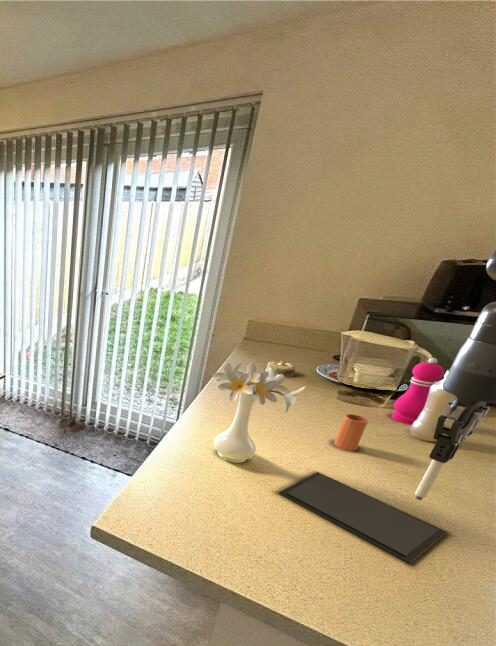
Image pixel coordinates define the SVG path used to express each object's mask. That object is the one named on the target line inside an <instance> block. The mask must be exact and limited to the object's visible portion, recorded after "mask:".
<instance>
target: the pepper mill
mask: <svg viewBox="0 0 496 646" xmlns="http://www.w3.org/2000/svg"><path fill="white" fill-rule="evenodd" d="M437 363H438V359H437V358H435V357H431V358H429V359H428V360H427V362H425V361H424V362H420V363H417V364H416V365H414V367H413V368H412V371H411V372H412V374H413V376H412V377H411V379H410V380H409V382H410V385H411V386H410V388H409V389H407V390H406V391H405V392H404V394H402V395H400V397H398V398H397V399H396V400H395V402H394V403H393V408H394V411H392V414H391V418H392V419H393V420H395V421H397V422H400V423H403V424H406V425H412V424H413V423H414V421H415V420H416V419H417V418H418V416H419V415H420V413H421V412H422V410H423V408H424V406H425V404H426V401H427V398H428V394H429V391H430V387H431V386H432V385H433V384H434V383H436V382H438V381H439V380H441V379H442V378H443V377H444V374H445V369H444V368H443V366H441V365H440V364H437Z"/></svg>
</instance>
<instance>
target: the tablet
mask: <svg viewBox="0 0 496 646" xmlns="http://www.w3.org/2000/svg"><path fill="white" fill-rule="evenodd" d="M278 495H280V496H282V497H284V498H285V499H287V500H288V501H290V502H293V503H295V504H297V505H298V506H300V507H301V508H303V509H306V510H307V511H309V512H311V513H314V514H315V515H317V516H318V517H320V518H322V519H324V520H326V521H328V522H329V523H331V524H332V525H335V526H337V527H339V528H341V529H342V530H344V531H346V532H349V533H351V535H353V536H355V537H357V538H359V539H361V540H363V541H364V542H367V543H368V544H370V545H372V546H374V547H376V548H378V549H380V550H382V551H383V552H385V553H387V554H389V555H391V556H393V557H394V558H396V559H398V560H400V561H402V562H404V563H406V564H407V565H411V564H412V563H413V562H414V561H415V560H417V559H418V558H419V557H420V556H422V554H424V553H425V552H426V551H427V550H429V549H430V548H431V547H432V546H433V545H435V544H436V543H437V542H438V541H440V540H441V538H443V537H444V536H445V535H446V534H447V533H448V531H446V530H444V529H442V528H440V527H438V526H436V525H433V524H431V523H429V522H427V521H425V520H422V519H420V518H418V517H416V516H415V515H412V514H409V513H408V512H405V511H404V510H401V509H399V508H396V507H395V506H393V505H391V504H389V503H386V502H384V501H381V500H380V499H378V498H375V497H373V496H371V495H368V494H366V493H364V492H362V491H360V490H357V489H356V488H353V487H351V486H349V485H347V484H345V483H343V482H340V481H338V480H336V479H334V478H332V477H329V476H327V475H325V474H323V473H321V472H318V471H317V472H315V473H313V474H311V475H309V476H307V477H306V478H303V479H301V480H299V481H298V482H296V483H294V484H292V485H290V486H288V487H285V488H284V489H282V490H281V491H279V492H278Z"/></svg>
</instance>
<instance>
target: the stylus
mask: <svg viewBox="0 0 496 646" xmlns="http://www.w3.org/2000/svg"><path fill="white" fill-rule="evenodd" d="M447 436H448V435H447ZM444 464H445V463H441V462H439V461H436V460H433V459H431V462H430V464H429V466H428V468H427V469H426V471H425V473H424V475H423V476H422V479H421V480H420V483H419V484H418V487H417V489H416V491H415V493H414V495H415V496H414V498H415V499H416V500H418V501H423V499H425V498H426V497H427V496H428V494H429V492H430V490H431V489H432V486H433V485H434V483H435V481H436V479H437V477H438V475H439V474H440V471H441V470H442V468H443V466H444Z"/></svg>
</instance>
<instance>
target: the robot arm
mask: <svg viewBox="0 0 496 646" xmlns="http://www.w3.org/2000/svg"><path fill="white" fill-rule="evenodd" d="M485 271H486V273H487V275H488V276H489V278H491V279H492V280H493V281H496V249H495V250H494V251H493V252H492V253H491V255H490V256H489V258H488V259H487V262H486V266H485ZM449 369H450V370H449ZM449 369H448V370H449V372H448V375H447V377H446V379H445V381H444V383H443V385H442V387H443V389H444V390H445V391H447V392H449V393H452V394H454V395H455V396H456V397H457V398H456V399H454V401H453V402H452V403H451V402H449V403H448V404H447V405H446V407H445V409H444V412H445V413H444V415H441V416H440V417H439V418H438V422H437V426H436V430H435V434H434V436H433V437H434V438H433V439H436V440H437V442H435V444H434V445H433V448H432V450H431V451H430V454H429V456H428V457H429V459H431V460H436V461H439V462H441V463H444V464H446V463H447V462H449V461H451V460H453V458H454V457H455V455H456V454H457V452H458V450H459V448H460V446H461V445H462V443H463V442H465V441H467V440H468V437H469V436H471V435H473V431H475V430H476V429H477V428H478V427H479V425H480V423H481V421H482V419H483V417H486V416H487V414H488V412H489V411H490V405H487V404H496V301H493V302H489V303H487V304H486V305H485V306H484V307H483V308H482V310H481V311H480V313H479V315H478V317H477V319H476V320H475V323H474V324H473V327H472V329H471V330H470V333H469V335H468V336H467V338H466V340H465V341H464V343H463V344H462V345H461V346H460V349H459V350H458V352H457V354H456V356H455V358H454V360H453V362H452V364H451V366H450V368H449ZM447 435H448V436H447Z"/></svg>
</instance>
